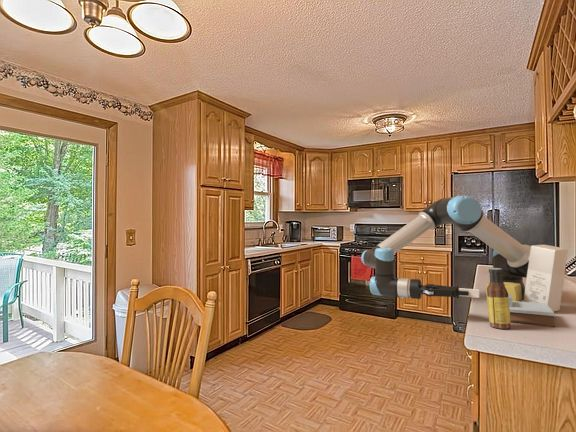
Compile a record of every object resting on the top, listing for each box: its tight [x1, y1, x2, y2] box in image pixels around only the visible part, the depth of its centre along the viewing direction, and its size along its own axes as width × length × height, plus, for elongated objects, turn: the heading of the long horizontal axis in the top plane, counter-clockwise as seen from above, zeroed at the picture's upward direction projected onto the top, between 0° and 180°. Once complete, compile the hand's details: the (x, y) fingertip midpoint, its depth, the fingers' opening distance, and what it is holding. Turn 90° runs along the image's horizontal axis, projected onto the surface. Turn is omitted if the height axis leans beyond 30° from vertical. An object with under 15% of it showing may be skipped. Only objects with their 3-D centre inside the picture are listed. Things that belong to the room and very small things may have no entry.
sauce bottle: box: [486, 267, 512, 330], centre depth 113 cm, size 6×6×20 cm
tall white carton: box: [523, 244, 569, 313], centre depth 132 cm, size 9×9×25 cm
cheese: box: [485, 282, 523, 304], centre depth 139 cm, size 10×11×10 cm
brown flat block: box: [510, 312, 556, 328], centre depth 121 cm, size 14×13×4 cm
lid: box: [508, 294, 556, 317], centre depth 121 cm, size 15×13×4 cm
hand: (479, 293), depth 119 cm, fingers closed
